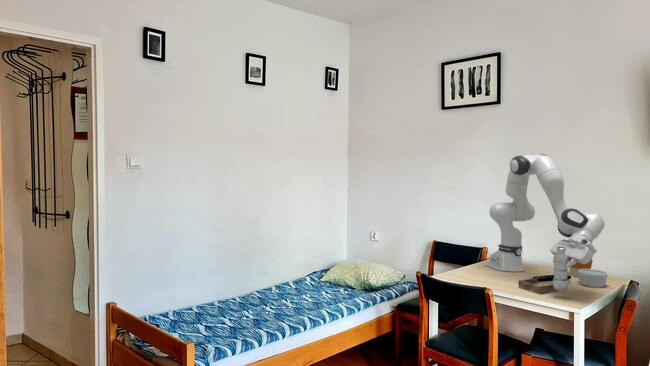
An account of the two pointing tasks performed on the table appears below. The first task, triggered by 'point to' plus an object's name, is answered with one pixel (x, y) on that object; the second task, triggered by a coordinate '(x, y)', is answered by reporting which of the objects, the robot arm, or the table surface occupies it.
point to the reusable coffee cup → (578, 266)
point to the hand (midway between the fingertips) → (560, 264)
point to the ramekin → (592, 277)
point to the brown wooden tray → (536, 286)
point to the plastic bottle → (560, 269)
